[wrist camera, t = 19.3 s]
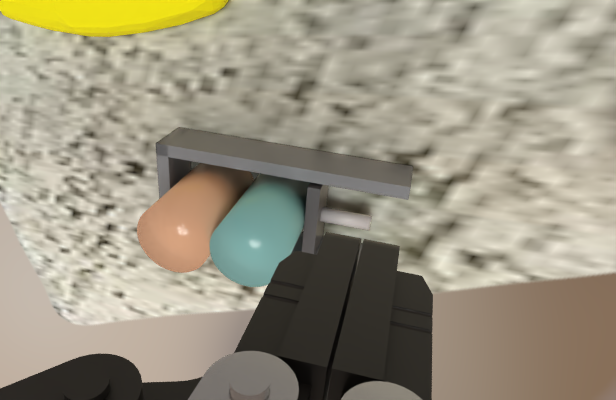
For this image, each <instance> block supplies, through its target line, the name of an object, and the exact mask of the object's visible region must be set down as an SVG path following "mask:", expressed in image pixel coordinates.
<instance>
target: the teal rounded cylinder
mask: <svg viewBox="0 0 616 400" xmlns="http://www.w3.org/2000/svg"><path fill="white" fill-rule="evenodd" d="M309 184H310V182H306V181H300V180H295V179H289V178H283V177H278V176H272V175H267V174H261V173H260V174H259V175H258V176H257V178H256V179H255V180H254V181H253V183H252V184H251V185H250V186H249V188H248V189H247V190H246V191H245V193H244V194H243V195H242V196H241V198H240V199H239V200H238V202H237V203H236V204H235V205H234V207H233V208H232V209H231V210H230V212H229V213H228V214H227V215H226V217H225V218H224V219H223V220H222V222H221V223H220V224H219V225H218V227H217V228H216V229H215V231H214V232H213V234H212V236H211V239H210V246H209V247H210V254H211V257H212V260H213V262H214V263H215V265H216V267H217V268H218V269H219V270H220V271H221V272H222V273H223V274H224V275H225V276H226V277H227V278H229V279H230V280H232V281H234V282H236V283H238V284H241V285H245V286H250V287H260V286H265V285H268V284H269V283H270V281H271V278H272V276H273V274H274V272H275V270H276V268H277V266H278V264H279V262H281V261H282V260H284V259H285V258H286V257H288V256H289V255H291V252H292V250H293V248H294V246H295V244H296V242H297V240H298V238H299V236H300V234H301V232H302V230H303V228H304V221H305V211H306V200H307V189H308V186H309Z"/></svg>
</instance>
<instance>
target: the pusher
mask: <svg viewBox="0 0 616 400" xmlns="http://www.w3.org/2000/svg"><path fill="white" fill-rule="evenodd" d="M328 188H329V186H328V185H323V184H317V183H312V182H310V184H309V186H308V189H307V200H306V211H305V221H304V232H303V243H302V252H306V253H310V254H316V251H317V249H318V246H319V244H320V242H321V239H322V237H323V232H324V223H325V222H327V223H332V224H337V225H343V226H348V227H353V228H358V229H364V230H370V225H371V219H372V216H370V215H365V214H359V213H354V212H349V211H343V210H338V209H332V208H327V207H326V205H327V197H328Z"/></svg>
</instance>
